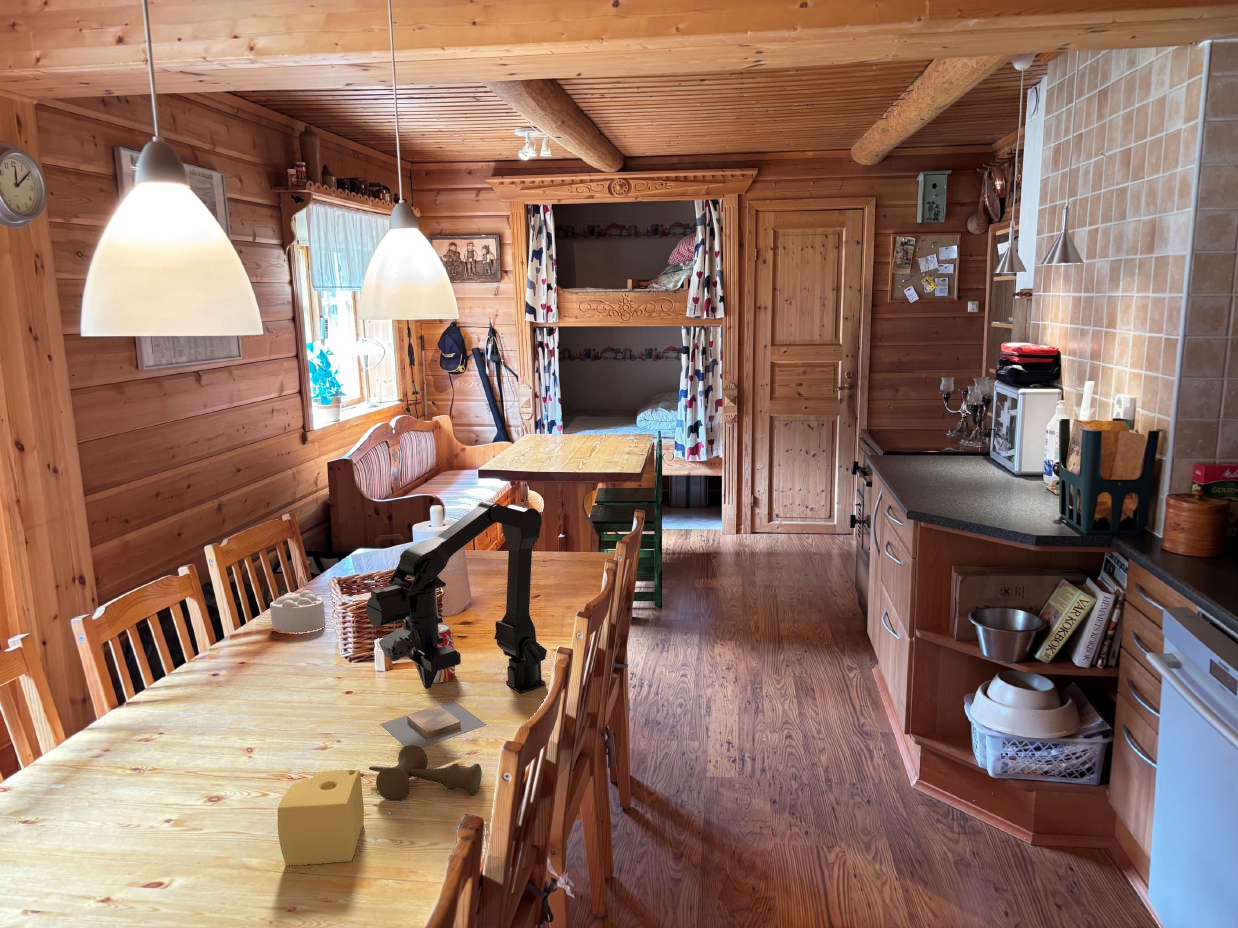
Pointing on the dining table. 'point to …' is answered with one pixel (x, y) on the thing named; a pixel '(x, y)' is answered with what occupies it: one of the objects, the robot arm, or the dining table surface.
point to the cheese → (321, 818)
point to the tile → (433, 721)
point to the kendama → (423, 775)
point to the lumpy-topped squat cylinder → (298, 612)
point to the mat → (413, 737)
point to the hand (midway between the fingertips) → (427, 687)
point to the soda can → (447, 640)
